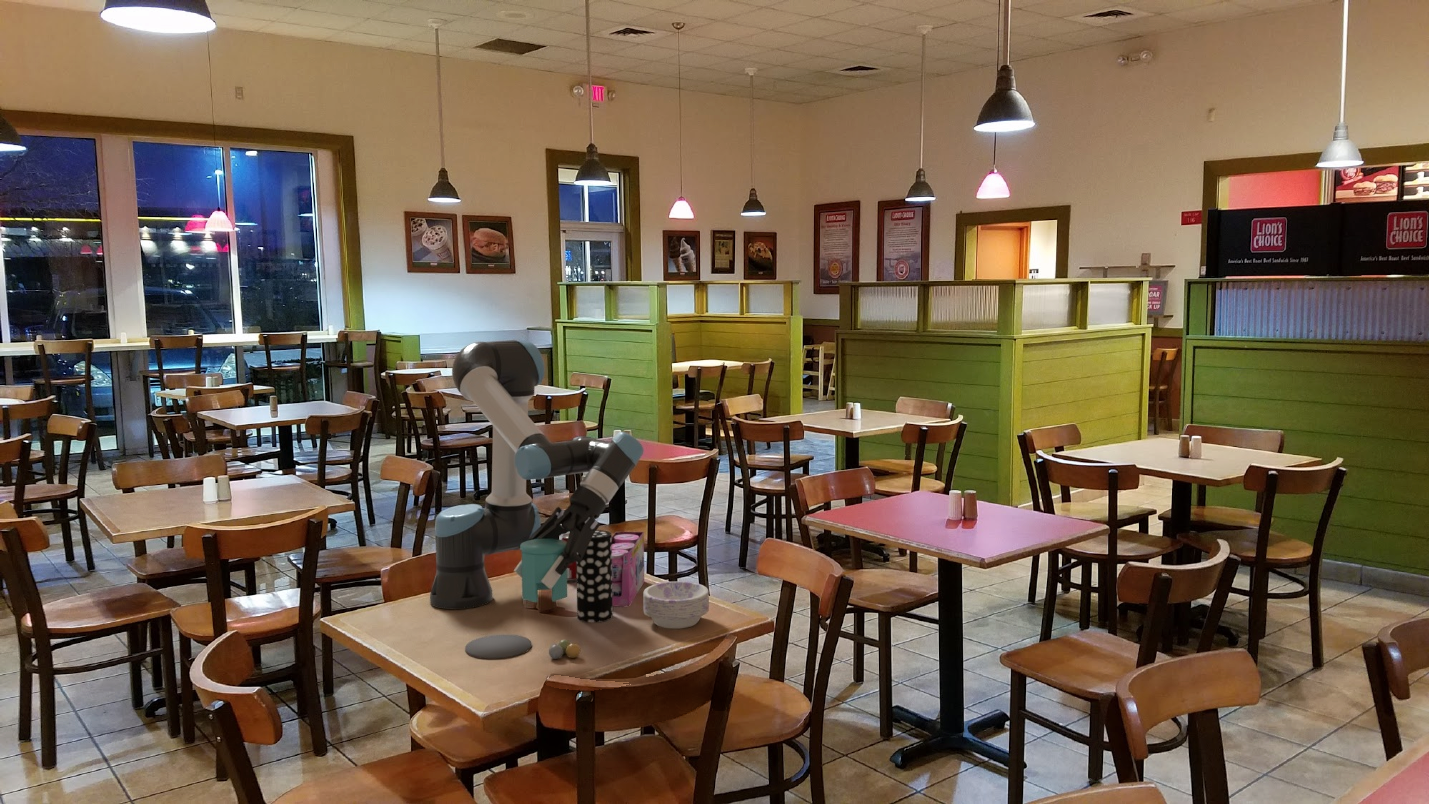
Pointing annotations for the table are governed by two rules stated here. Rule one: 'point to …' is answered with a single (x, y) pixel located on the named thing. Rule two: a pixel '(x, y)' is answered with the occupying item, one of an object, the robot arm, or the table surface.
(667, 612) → the paper bowls
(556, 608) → the table surface
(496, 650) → the coaster
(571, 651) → the amber marble
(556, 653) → the grey marble
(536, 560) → the teal piece
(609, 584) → the spotted tube
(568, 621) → the table surface
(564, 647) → the olive marble
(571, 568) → the soda can
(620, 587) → the gum box
